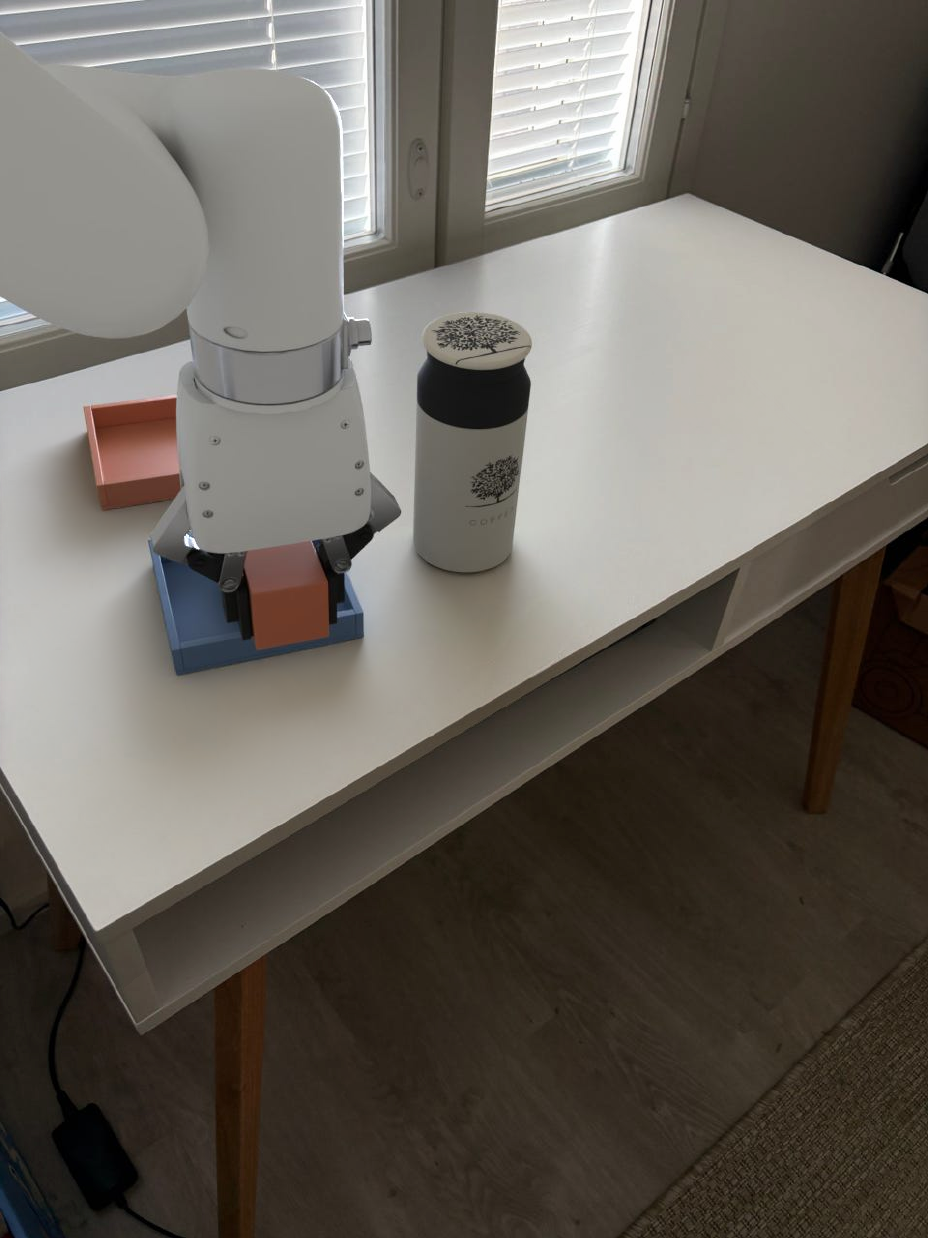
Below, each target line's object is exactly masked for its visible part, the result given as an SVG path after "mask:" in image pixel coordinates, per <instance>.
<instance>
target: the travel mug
mask: <svg viewBox="0 0 928 1238" xmlns="http://www.w3.org/2000/svg"><path fill="white" fill-rule="evenodd" d="M421 342H422V346H423V347H424V349H425V350H426V356H427V357H426V359H425V361H424V362H423V364H422V365H421V367H420V368H419V370H418V371H417V375H416V408H415V410H416V411H415V412H416V413H415V444H414V445H415V446H414V447H415V449H414V478H413V479H414V485H413V516H412V517H413V519H412V520H413V521H412V522H413V523H412V544H413V547H414V549H415V550H416V552H417V553H418V555H420V557H421V558H422V559H423V560H424V561H426V562H427V563H430V565H432V566H435V567H437V568H439V569H442V570H445V571H450V572H456V573H476V572H482V571H486V570H489V569H492V568H495V567H496V566H498V565H500V564H502V563H503V562H504V561H505V560H506V559H507V558H508V557H509V556H510V554H511V552H512V550H513V544H514V537H515V536H514V535H515V529H516V528H515V527H516V520H517V519H516V517H517V512H518V511H517V510H518V499H519V493H520V484H521V475H522V467H523V466H522V465H523V457H524V450H525V441H526V440H525V439H526V430H527V423H528V422H527V421H528V414H529V413H528V412H529V405H530V397H531V396H530V395H531V386H532V382H531V378H530V376H529V374H528V370H527V369H526V367H525V365H524V364H525V360H526V357H528V355H529V354H530V352H531V350H532V347H533V340H532V337H531V335H530V333H529V332H528V330H527V329H526V328H524V326H522V325H520V324H519V323H518V322H516V321H514V320H512V319H510V318H507V317H504V316H502V315H498V314H493V313H489V312H479V311H463V312H461V311H460V312H455V313H449V314H446V315H443V316H440V317H438V318H435V319H434V320H432V321H431V322H430V323H428V324H427V325H426V327H424V329H423V331H422V334H421Z"/></svg>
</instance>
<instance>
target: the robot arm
mask: <svg viewBox="0 0 928 1238" xmlns="http://www.w3.org/2000/svg"><path fill="white" fill-rule="evenodd" d="M344 271H345V269H344V139H343V124H342V119H341V115H340V112H339V108H338V106H337V104H336V103H335V100H334V99H333V97H332V96H331V95H330V93H328V91H327V90H325V89H324V87H322V86H321V85H320V84H319V83H317V82H315V81H313V80H310V79H308V78H306V77H303V76H300V75H297V74H293V73H290V72H286V71H282V70H276V69H269V68H255V67H235V68H233V67H232V68H222V69H215V70H210V71H206V72H201V73H197V74H195V75H193V76H171V75H170V76H169V75H159V74H149V73H138V72H130V71H121V70H115V69H114V70H113V69H107V68H106V69H105V68H100V67H91V66H82V65H72V64H71V65H69V64H45V65H41V64H40V62H38V61H37V60H36V59H34V58H33V57H32V56H31V55H29V53H27V52H26V51H25V50H24V49H22V48H21V47H20V46H19V45H18V44H16V43H14V42H13V41H12V39H10V38H9V37H8V36H7V35H5V33H3V32H2V31H1V30H0V298H2V299H4V300H5V301H7V302H8V303H10V304H12V305H14V306H15V307H17V308H19V309H21V310H23V311H25V312H27V313H28V314H30V315H32V316H34V317H36V318H38V319H41V320H42V321H44V322H46V323H48V324H51V325H54V326H55V327H57V328H60V329H63V330H67V331H70V332H73V333H76V334H80V335H83V336H88V337H95V338H100V339H107V340H108V339H112V340H113V339H130V338H134V337H135V338H136V337H140V336H145V335H148V334H150V333H153V332H155V331H157V330H160V329H162V328H163V327H165V326H166V325H168V324H169V323H171V322H172V321H174V320H176V319H177V318H178V317H180V315H181V314H182V313H183V312H184V311H185V310H186V315H187V325H188V331H189V341H190V349H191V357H192V360H191V361H188V362H186V363H185V364H183V366H182V367H181V368H180V370H179V372H178V378H177V388H176V395H177V400H176V434H177V452H178V465H179V476H180V486H181V490H180V492H179V493H178V494H177V496H176V497H175V499H172V502H171V503H170V505H169V506H168V508H167V509H166V511H165V512H164V513H163V514H162V516H161V518H160V519H159V520H158V522H157V524H156V525H155V526H154V528H153V529H152V530H151V532H150V535H149V538H150V540H151V543H152V548H153V551H154V553H155V554H157V555H159V556H162V557H164V558H167V559H170V560H173V561H175V562H178V563H185V564H187V565H188V566H189V567H190V568H191V569H192V570H194V571H196V572H197V573H199V574H201V575H203V576H205V577H207V578H209V579H211V580H212V581H214V582H216V583H218V584H219V587H220V589H221V593H222V601H223V608H224V613H225V617H226V621H227V623H231V622H236V621H237V623H238V626H239V630H240V634H241V637H242V640H243V641H244V640H249V639H251V637H253V625H252V614H251V603H250V593H249V589H248V586H247V582H246V579H245V576H244V572H243V569H244V564H245V559H246V555H247V551H248V550H256V549H262V548H269V547H276V546H282V545H288V544H295V543H301V542H307V541H313V540H319V539H321V542H322V544H321V545H318V546H316V553H317V555H318V558H319V561H320V563H321V566H322V568H323V571H324V573H325V576H326V578H327V581H328V608H329V625H331V624H337V604H338V603H343V602H345V572H347V573H348V572H349V571H350V570H351V568H352V565H353V564H352V560H353V559H354V558H355V557H356V556H357V555H358V554H359V553H361V551H363V549H364V548H365V547H366V546H368V544H369V543H370V542H372V540H373V539H374V537H375V534H376V533H377V532H378V533H380V532H381V531H383V530H384V529H385V528H387V527H388V526H389V525H391V524H392V523H393V522H395V521H396V520H397V519H399V518H400V517H401V515H402V509H401V507H400V504H399V502H398V500H397V499H396V497H395V496H394V495H393V493H391V491H389V489H388V488H387V487H386V486H385V485H384V484H383V483H382V482H381V481H380V480H379V479H378V478H377V477H376V475H374V474H373V473H372V471H371V466H370V455H369V445H368V436H367V435H368V434H367V426H366V419H365V411H364V406H363V400H362V396H361V390H360V386H359V381H358V378H357V373H356V369H355V367H354V364H353V361H352V359H351V358H350V357H351V352H352V351H354V350H357V349H358V348H359V347H365V346H371V345H372V342H373V333H372V326H371V323H370V320H369V319H368V318H361V319H356V318H354V317H353V316H351V317H348V316H347V315H346V313H345V308H344V307H345V303H344V302H345V299H344V298H345V297H344V296H345V293H344V291H345V290H344V289H345V288H344V283H345V282H344V279H345V278H344ZM190 531H191V533H193V537H192V538H190V537H189V535H187V533H190Z"/></svg>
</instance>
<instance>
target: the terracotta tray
mask: <svg viewBox="0 0 928 1238" xmlns="http://www.w3.org/2000/svg"><path fill="white" fill-rule="evenodd" d="M176 400H177V394H170V395H162V396H154V397H146V398H139V399H130V400H123V401H116V402H107V403H99V404H91V405H85V406H83V414H84V419H85V425H86V431H87V438H88V444H89V451H90V457H91V462H92V468H93V475H94V481H95V487H96V491H97V495H98V496H97V497H98V499H99V500H98V501H99V504H100V508H101V511H105V510H106V511H107V510H112V509H113V510H114V509H119V508H126V507H131V506H138V505H144V504H145V505H146V504H152V503H158V502H163V501H170V500H174V499H175V497H176V496H177V494H178V493H179V492H180V490H181V486H180V476H179V465H178V452H177V434H176Z"/></svg>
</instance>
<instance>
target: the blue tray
mask: <svg viewBox="0 0 928 1238" xmlns="http://www.w3.org/2000/svg"><path fill="white" fill-rule="evenodd" d="M187 535H189V537H190V538H192V537H193V533H192V532H188V533H187ZM147 543H148V547H149V552H150V553H149V554H150V557H151V560H152V561H151V563H152V568H153V572H154V577H155V580H156V587H157V591H158V595H159V601H160V605H161V609H162V615H163V620H164V624H165V629H166V633H167V634H166V635H167V640H168V643H169V647H170V648H169V649H170V654H171V658H172V663H173V667H174V672H175V676H180V675H185V674H190V673H195V672H201V671H205V670H210V669H215V668H219V667H225V666H229V665H234V664H240V663H245V662H249V661H254V660H259V659H264V658H270V657H273V656H279V655H283V654H288V653H289V654H290V653H294V652H298V651H299V652H300V651H304V650H307V649H308V650H309V649H313V648H317V647H318V648H319V647H322V646H327V645H328V646H329V645H333V644H337V643H342V642H347V641H352V640H357V639H362V638H364V637H365V624H364V623H365V622H364V621H365V620H364V619H365V618H364V611H363V608H362V606H361V603H360V601H359V599H358V597H357V594H356V591H355V588H354V587H353V584H352V581H351V579H350V577H349V574H348V571H347V572H345V602H343V603H338V604H337V624H331V625H329V637H325V638H320V639H314V640H309V641H304V642H298V643H293V644H287V645H282V646H277V647H271V648H266V649H261V650H257V649H256V646H255V643H254V640H253V637H251V639H249V640H244V641H243V640H242V637H241V634H240V630H239V626H238V623H237V621H236V622H231V623H227V621H226V617H225V613H224V608H223V601H222V593H221V589H220V587H219V584H218V583H216V582H214V581H212V580H211V579H209V578H207V577H205V576H203V575H201V574H199V573H197V572H196V571H194V570H192V569H191V568H190V567H189V566H188V565H187V564H185V563H178V562H175V561H173V560H170V559H167V558H164V557H162V556H159V555H157V554H155V553H154V551H153V548H152V543H151V539H148V541H147ZM312 543H313V545H314V548H315V550H316V546H318V545H321V544H322V542H321V539H319V540H313V541H312Z"/></svg>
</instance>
